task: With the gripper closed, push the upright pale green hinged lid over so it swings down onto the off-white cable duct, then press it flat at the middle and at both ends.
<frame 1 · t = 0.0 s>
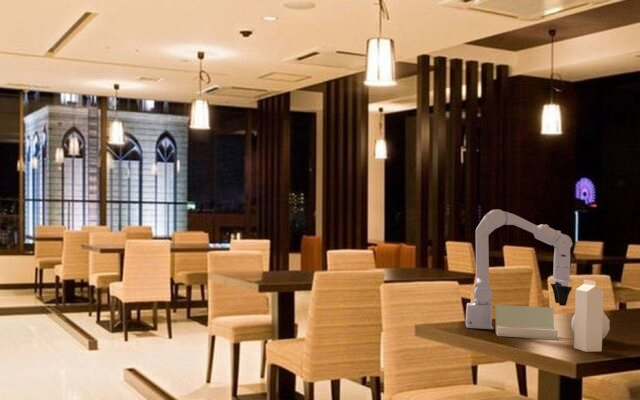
hand: (560, 304, 265), 10 cm above the table, tool pointing down, fingers open, 7 cm apart
duct lid: (524, 316, 258), point 6 cm above the table, hinge at 110.0°
decorative ball: (589, 343, 244), on the table
milk: (587, 350, 229), on the table
cable duct: (525, 335, 252), on the table
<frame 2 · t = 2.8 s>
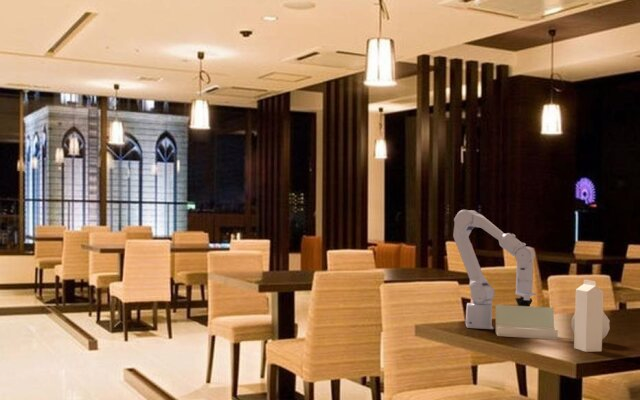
hand: (523, 318, 260), 5 cm above the table, tool pointing down, fingers closed, pressing on duct lid
duct lid: (524, 316, 258), point 6 cm above the table, hinge at 109.6°, touching gripper
everything else where it was.
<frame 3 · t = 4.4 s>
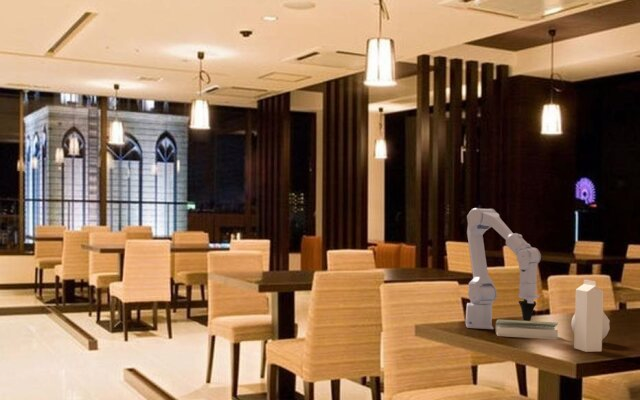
hand: (526, 321, 252), 5 cm above the table, tool pointing down, fingers closed, pressing on duct lid
duct lid: (526, 323, 253), point 4 cm above the table, hinge at 16.0°, touching gripper
everything else where it was.
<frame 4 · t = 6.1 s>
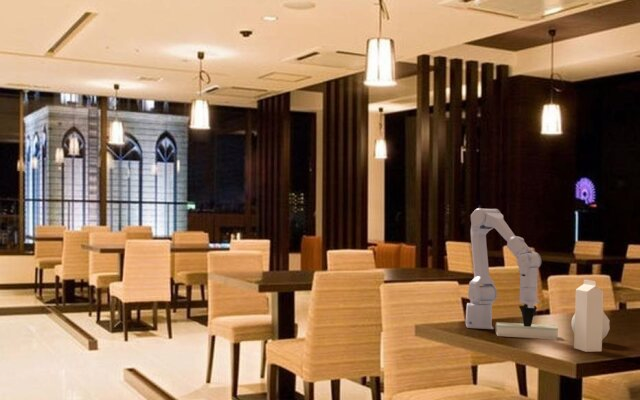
hand: (527, 326, 250), 4 cm above the table, tool pointing down, fingers closed, pressing on duct lid
duct lid: (526, 326, 252), point 3 cm above the table, hinge at -0.3°, touching gripper
everything else where it was.
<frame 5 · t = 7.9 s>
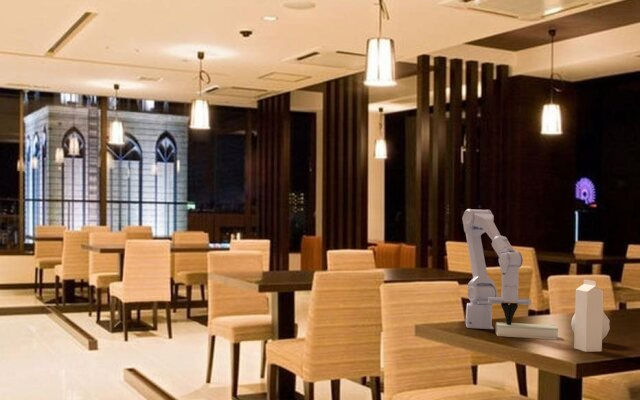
hand: (508, 324, 253), 4 cm above the table, tool pointing down, fingers closed, pressing on duct lid
duct lid: (526, 326, 252), point 3 cm above the table, hinge at -0.4°, touching gripper
everything else where it was.
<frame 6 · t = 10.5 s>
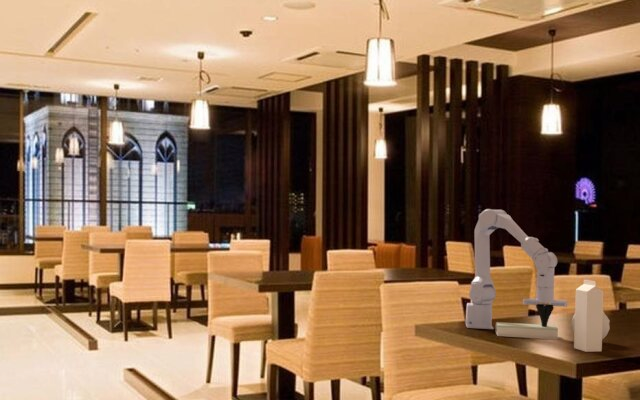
hand: (544, 326, 252), 4 cm above the table, tool pointing down, fingers closed, pressing on duct lid
duct lid: (526, 326, 252), point 3 cm above the table, hinge at -0.5°, touching cable duct, gripper
everything else where it was.
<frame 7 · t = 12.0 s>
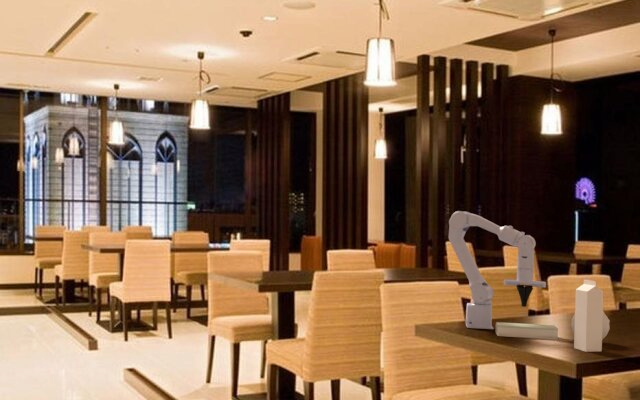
hand: (523, 306, 262), 9 cm above the table, tool pointing down, fingers closed
duct lid: (526, 326, 252), point 3 cm above the table, hinge at -0.5°, touching cable duct
everything else where it was.
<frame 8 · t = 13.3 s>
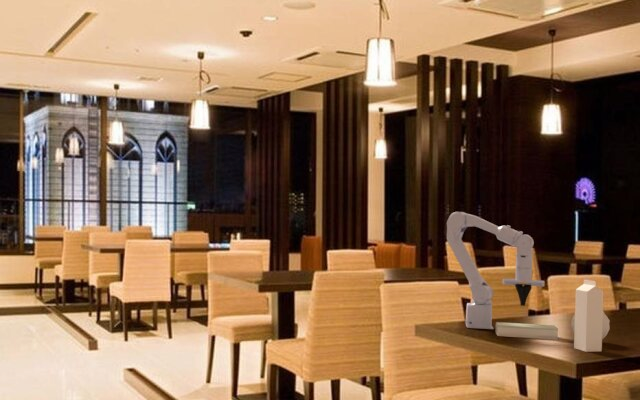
hand: (522, 305, 263), 9 cm above the table, tool pointing down, fingers closed
nothing on the table moved.
at the end: duct lid at +0° (first picture: +110°); milk moved 0.2 cm from its start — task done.
